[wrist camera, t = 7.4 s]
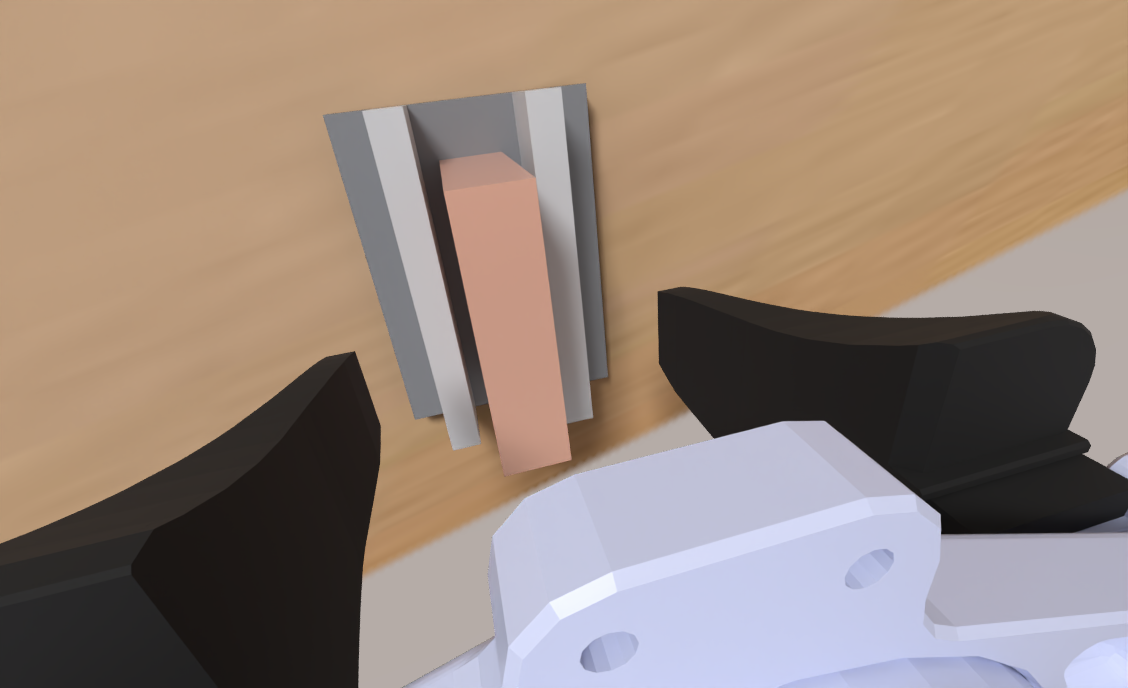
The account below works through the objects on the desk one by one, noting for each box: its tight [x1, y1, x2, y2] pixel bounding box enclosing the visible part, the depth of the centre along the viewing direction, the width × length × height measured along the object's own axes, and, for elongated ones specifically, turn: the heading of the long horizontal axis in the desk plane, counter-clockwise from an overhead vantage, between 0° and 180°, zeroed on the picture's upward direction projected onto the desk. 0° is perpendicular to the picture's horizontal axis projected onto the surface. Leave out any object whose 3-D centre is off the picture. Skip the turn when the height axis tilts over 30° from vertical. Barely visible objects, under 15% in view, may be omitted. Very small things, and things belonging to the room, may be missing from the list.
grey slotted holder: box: [323, 83, 608, 450], centre depth 17 cm, size 8×11×4 cm
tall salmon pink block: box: [439, 152, 572, 476], centre depth 15 cm, size 2×8×6 cm, turn 6°
